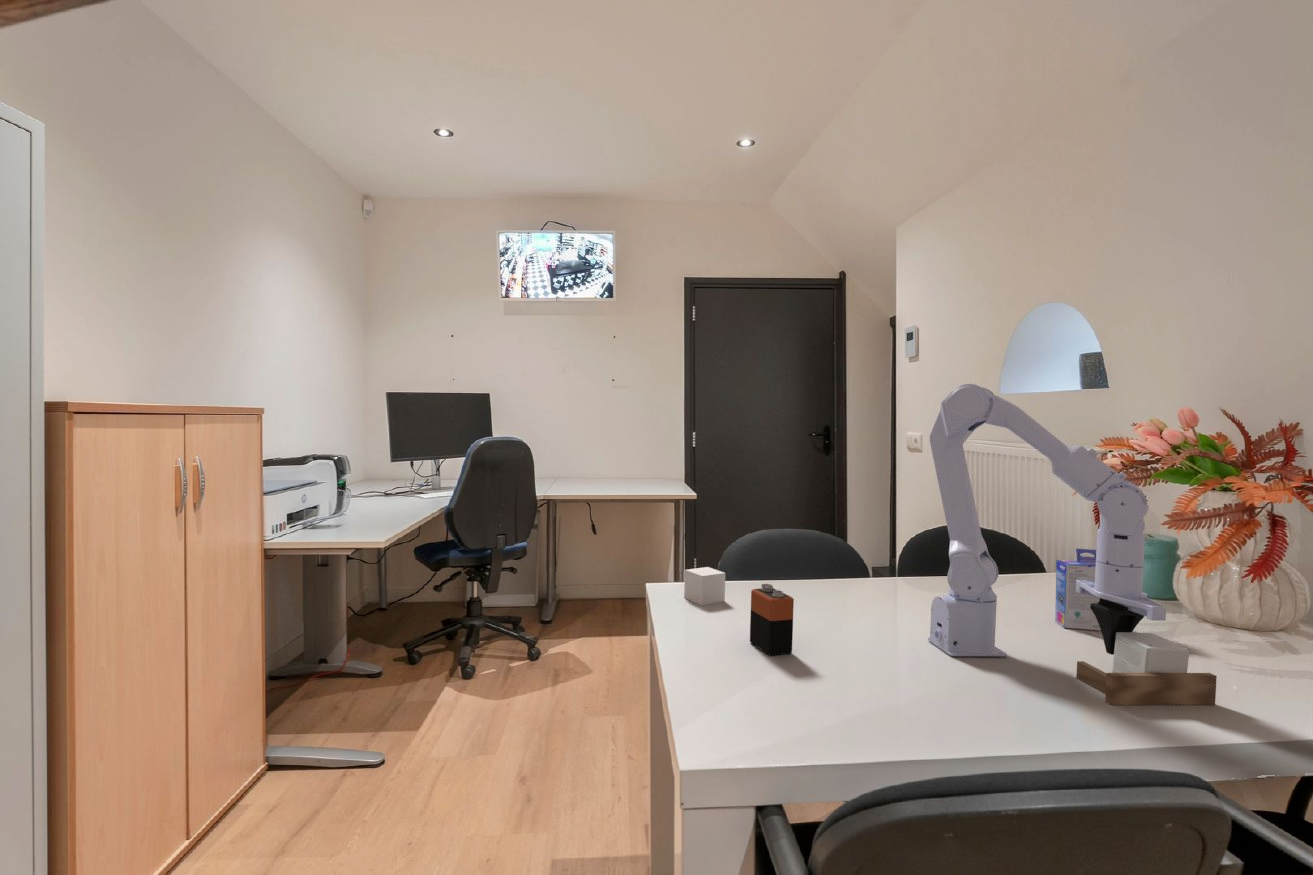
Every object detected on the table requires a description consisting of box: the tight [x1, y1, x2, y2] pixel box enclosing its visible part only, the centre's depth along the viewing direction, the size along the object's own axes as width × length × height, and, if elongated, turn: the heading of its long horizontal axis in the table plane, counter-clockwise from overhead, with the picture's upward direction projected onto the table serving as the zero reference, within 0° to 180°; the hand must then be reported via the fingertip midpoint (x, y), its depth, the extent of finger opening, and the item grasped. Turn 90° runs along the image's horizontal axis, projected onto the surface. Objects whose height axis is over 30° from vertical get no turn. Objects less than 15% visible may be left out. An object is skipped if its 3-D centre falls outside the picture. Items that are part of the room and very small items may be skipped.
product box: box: [1111, 631, 1190, 673], centre depth 90 cm, size 6×6×7 cm
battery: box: [749, 583, 795, 656], centre depth 103 cm, size 4×7×10 cm, turn 21°
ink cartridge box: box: [1054, 548, 1101, 632], centre depth 119 cm, size 10×6×14 cm, turn 78°
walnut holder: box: [1075, 660, 1218, 706], centre depth 90 cm, size 15×9×4 cm, turn 94°
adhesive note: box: [683, 566, 726, 606], centre depth 131 cm, size 6×6×6 cm
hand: (1114, 653), depth 94 cm, fingers closed
